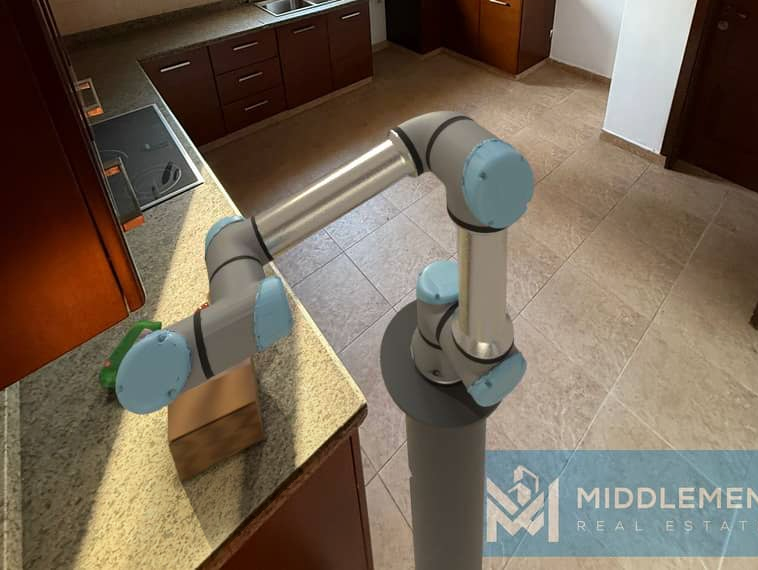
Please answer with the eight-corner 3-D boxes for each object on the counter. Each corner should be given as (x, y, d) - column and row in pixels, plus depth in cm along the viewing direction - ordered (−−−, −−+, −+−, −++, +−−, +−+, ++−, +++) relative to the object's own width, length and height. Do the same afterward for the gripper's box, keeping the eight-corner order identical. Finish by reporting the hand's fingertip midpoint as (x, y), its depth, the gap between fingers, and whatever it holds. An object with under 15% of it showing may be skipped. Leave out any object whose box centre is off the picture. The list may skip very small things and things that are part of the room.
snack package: (170, 328, 107) (165, 313, 106) (125, 397, 93) (119, 380, 91) (144, 326, 108) (139, 311, 107) (95, 394, 93) (89, 377, 92)
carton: (256, 375, 96) (248, 339, 92) (264, 438, 84) (255, 400, 81) (182, 409, 90) (171, 371, 86) (180, 481, 79) (167, 441, 75)
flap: (250, 364, 86) (250, 363, 86) (255, 400, 81) (255, 399, 81) (168, 400, 80) (167, 400, 80) (168, 442, 75) (167, 441, 75)
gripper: (124, 411, 56) (163, 380, 76) (230, 365, 61) (240, 346, 81) (120, 346, 59) (158, 332, 79) (221, 306, 64) (233, 302, 84)
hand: (200, 339), depth 80 cm, fingers closed
